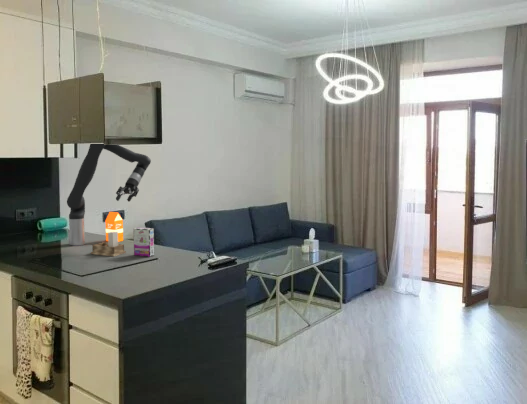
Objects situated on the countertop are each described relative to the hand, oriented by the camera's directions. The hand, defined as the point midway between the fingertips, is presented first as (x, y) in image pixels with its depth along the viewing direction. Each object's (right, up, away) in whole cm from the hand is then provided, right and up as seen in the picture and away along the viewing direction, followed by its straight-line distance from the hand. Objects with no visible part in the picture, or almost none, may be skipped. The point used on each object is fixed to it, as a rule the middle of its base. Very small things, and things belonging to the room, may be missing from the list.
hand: (122, 200), depth 303 cm
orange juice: (-14, -28, +28) cm, 42 cm away
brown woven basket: (-5, -32, -12) cm, 34 cm away
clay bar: (-2, -31, -13) cm, 34 cm away
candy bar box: (+18, -33, -16) cm, 41 cm away
